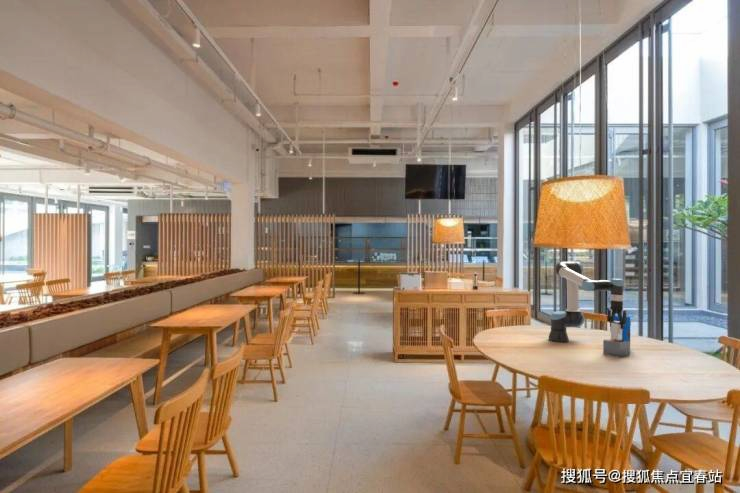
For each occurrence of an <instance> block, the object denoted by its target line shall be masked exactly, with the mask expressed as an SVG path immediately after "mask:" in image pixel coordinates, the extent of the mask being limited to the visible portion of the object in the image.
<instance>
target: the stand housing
mask: <svg viewBox="0 0 740 493" xmlns="http://www.w3.org/2000/svg"><path fill="white" fill-rule="evenodd" d="M602 343H603V345H602V346H603V347H602V350H603V354H604V355H607V356H612V357H616V358H624V357H627V356H630V355H631V340H630V341H626V340H622V342H615V340H612V339H611V337H610V338H607V339H603V342H602Z"/></svg>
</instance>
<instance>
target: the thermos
mask: <svg viewBox="0 0 740 493" xmlns="http://www.w3.org/2000/svg"><path fill="white" fill-rule="evenodd" d="M622 318H623V314H622ZM614 321H619V317H618V314H615V317H614ZM622 340H626V341H630V342H631V316H630V315H627V314H626V324H624V325H623V329H622Z"/></svg>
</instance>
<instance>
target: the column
mask: <svg viewBox="0 0 740 493" xmlns="http://www.w3.org/2000/svg"><path fill="white" fill-rule="evenodd" d="M619 324H620V321H611V327H610V338H611V339H612V340H615V342H622V333H621V334H619Z"/></svg>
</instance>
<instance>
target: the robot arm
mask: <svg viewBox="0 0 740 493" xmlns="http://www.w3.org/2000/svg"><path fill="white" fill-rule="evenodd" d="M554 273H555V274H556V275H558V276H559V277H560V278H564V279H565V280H566V305H567V306H566V307H567V308H566V309H565V311H564V310H560V311H559V310H557V311H552V312H551V314H550V332H549V335H548V341H550V340H552V341H551V342H554V341H556V342H555V343H568V342H569V341H570V340H569V339H570V338H569V337H568V333H567V328H579V327H581V326H583V324H584V323H585V315H584V314H583V313H582V311H581V309H580V305H579V303H580V300H579V286H580V287H581V288H582V290H583V291H585V292H597V291H599V292H600V291H601V292H602V291H606V292H610V307H606V314H607V316H606V318H607V319H606V321H607V322H609V326H610V328H611V321H614V317H615V315H618V317H619V321H620V324H619V334H621V333H622V329H623V325H624V324H626V315H627V313H628V310H627V309H624V281H623V280H624V279H622V278H611V279H610V280H606V279H600V280H592V279H590V278H588V277H586V276H584V275H583V273H584V267H583V265H582V264H581V262H580V261H572V260H571V261H560V262H557V263H556V264H555V265H554ZM622 315H623V318H622Z"/></svg>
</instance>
